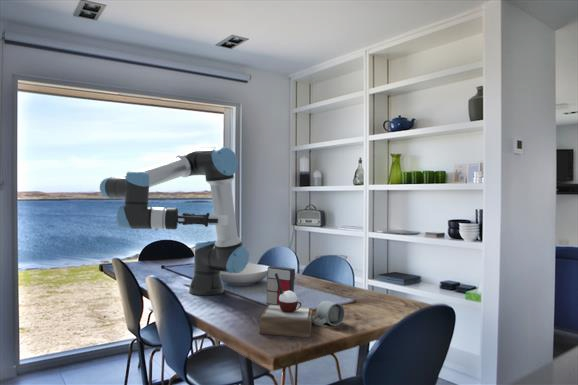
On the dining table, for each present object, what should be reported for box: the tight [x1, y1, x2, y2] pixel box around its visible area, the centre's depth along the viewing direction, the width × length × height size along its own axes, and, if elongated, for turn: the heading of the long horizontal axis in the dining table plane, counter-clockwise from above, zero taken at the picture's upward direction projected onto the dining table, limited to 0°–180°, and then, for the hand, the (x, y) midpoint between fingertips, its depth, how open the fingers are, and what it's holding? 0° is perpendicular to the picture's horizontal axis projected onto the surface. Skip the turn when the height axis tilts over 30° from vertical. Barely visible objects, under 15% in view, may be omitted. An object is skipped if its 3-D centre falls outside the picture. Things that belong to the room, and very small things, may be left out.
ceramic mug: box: [312, 300, 346, 327], centre depth 145 cm, size 11×8×8 cm
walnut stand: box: [259, 304, 313, 338], centre depth 138 cm, size 16×16×6 cm
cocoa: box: [275, 273, 302, 313], centre depth 139 cm, size 10×6×12 cm, turn 48°
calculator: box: [266, 265, 296, 305], centre depth 168 cm, size 11×4×15 cm, turn 62°
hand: (227, 219), depth 146 cm, fingers open, 13 cm apart
